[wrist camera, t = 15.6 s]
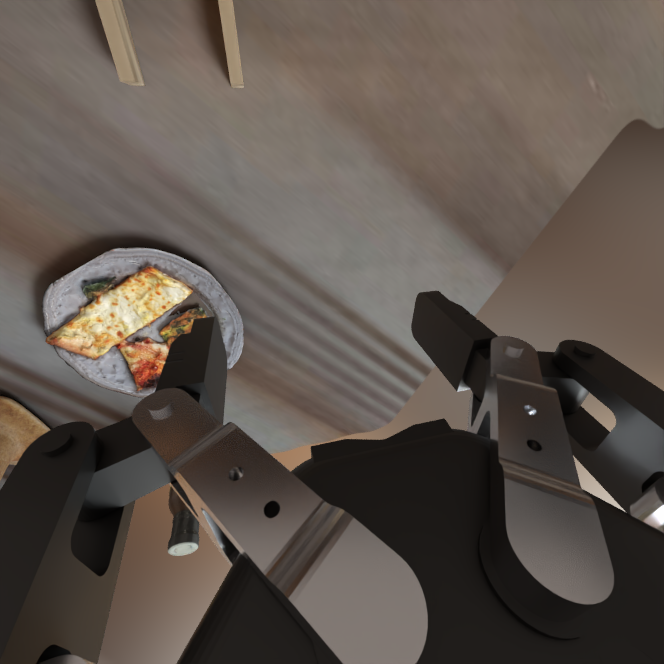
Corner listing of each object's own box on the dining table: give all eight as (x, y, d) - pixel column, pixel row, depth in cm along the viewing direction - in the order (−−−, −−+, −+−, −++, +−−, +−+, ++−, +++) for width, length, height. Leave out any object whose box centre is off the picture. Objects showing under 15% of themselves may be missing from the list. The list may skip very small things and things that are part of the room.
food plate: (144, 408, 52) (138, 424, 49) (3, 309, 38) (-16, 322, 35) (269, 340, 51) (271, 352, 48) (170, 212, 37) (164, 218, 34)
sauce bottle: (173, 439, 58) (145, 558, 42) (191, 419, 56) (169, 536, 40) (204, 448, 61) (189, 562, 45) (222, 430, 59) (213, 541, 43)
